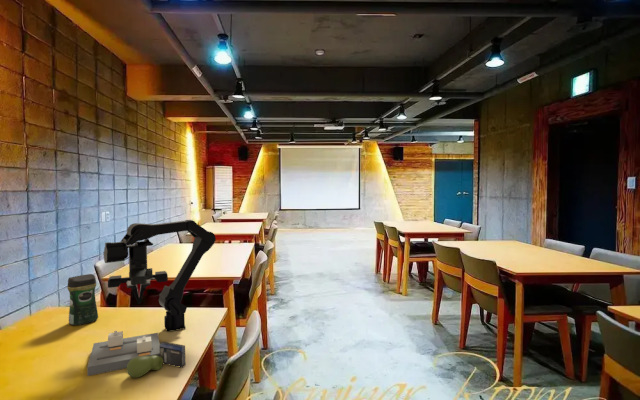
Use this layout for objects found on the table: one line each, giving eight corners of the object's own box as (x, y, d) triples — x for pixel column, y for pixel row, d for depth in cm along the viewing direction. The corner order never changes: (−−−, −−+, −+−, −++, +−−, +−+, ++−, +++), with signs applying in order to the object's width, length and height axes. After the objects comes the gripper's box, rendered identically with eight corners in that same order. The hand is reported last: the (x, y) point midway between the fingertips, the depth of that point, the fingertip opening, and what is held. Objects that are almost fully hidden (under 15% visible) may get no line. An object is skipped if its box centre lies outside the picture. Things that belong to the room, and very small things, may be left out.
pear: (124, 356, 103) (157, 349, 112) (121, 376, 103) (154, 368, 111) (134, 361, 100) (168, 354, 108) (132, 382, 100) (165, 373, 108)
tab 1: (123, 340, 121) (122, 329, 121) (122, 344, 118) (122, 333, 118) (109, 342, 120) (108, 331, 120) (108, 347, 116) (107, 335, 116)
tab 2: (151, 345, 117) (150, 334, 117) (151, 350, 113) (151, 339, 113) (137, 348, 115) (136, 336, 115) (137, 353, 112) (136, 341, 112)
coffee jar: (93, 316, 153) (92, 271, 152) (100, 320, 148) (99, 274, 147) (66, 322, 146) (64, 276, 145) (72, 327, 140) (70, 279, 140)
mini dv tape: (160, 363, 111) (159, 343, 111) (163, 361, 113) (163, 341, 112) (182, 367, 108) (181, 347, 108) (185, 365, 110) (185, 345, 110)
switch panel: (157, 339, 129) (157, 332, 128) (161, 361, 112) (160, 352, 112) (94, 350, 120) (93, 342, 120) (87, 375, 104) (87, 366, 104)
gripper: (105, 266, 119) (107, 314, 120) (168, 260, 127) (169, 305, 128) (108, 260, 129) (109, 304, 130) (166, 255, 137) (167, 297, 138)
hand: (139, 303), depth 131 cm, fingers closed
